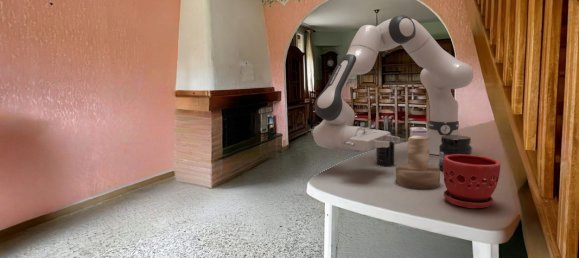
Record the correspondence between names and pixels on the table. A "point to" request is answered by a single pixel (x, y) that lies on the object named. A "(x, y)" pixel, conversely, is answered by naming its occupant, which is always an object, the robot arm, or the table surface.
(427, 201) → the table surface
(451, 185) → the plant pot
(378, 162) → the supplement bottle
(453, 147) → the supplement container
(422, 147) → the ash block
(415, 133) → the syrup box
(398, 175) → the walnut plinth
